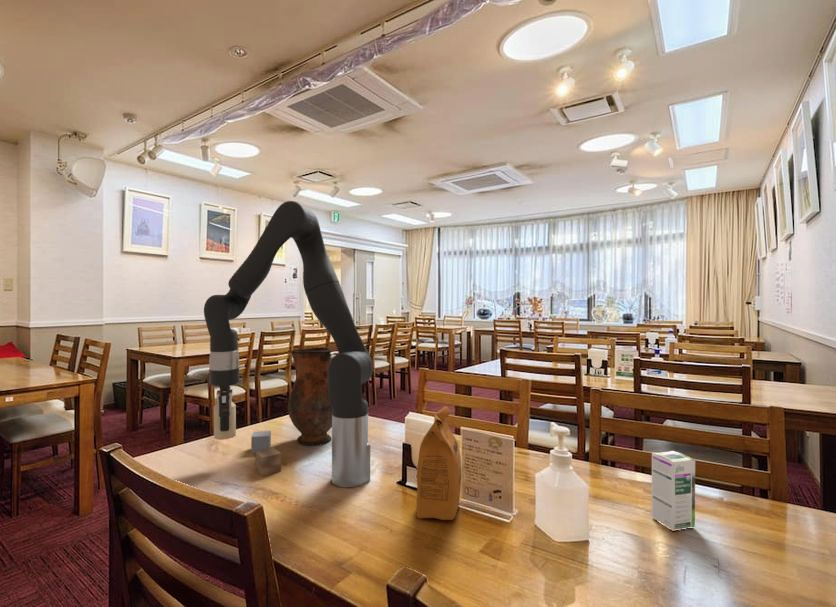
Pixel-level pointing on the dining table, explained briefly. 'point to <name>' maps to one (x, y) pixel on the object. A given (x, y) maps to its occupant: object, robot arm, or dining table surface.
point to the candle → (232, 423)
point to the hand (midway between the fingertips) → (225, 427)
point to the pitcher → (311, 396)
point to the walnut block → (268, 461)
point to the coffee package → (438, 471)
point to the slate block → (260, 441)
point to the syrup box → (673, 489)
